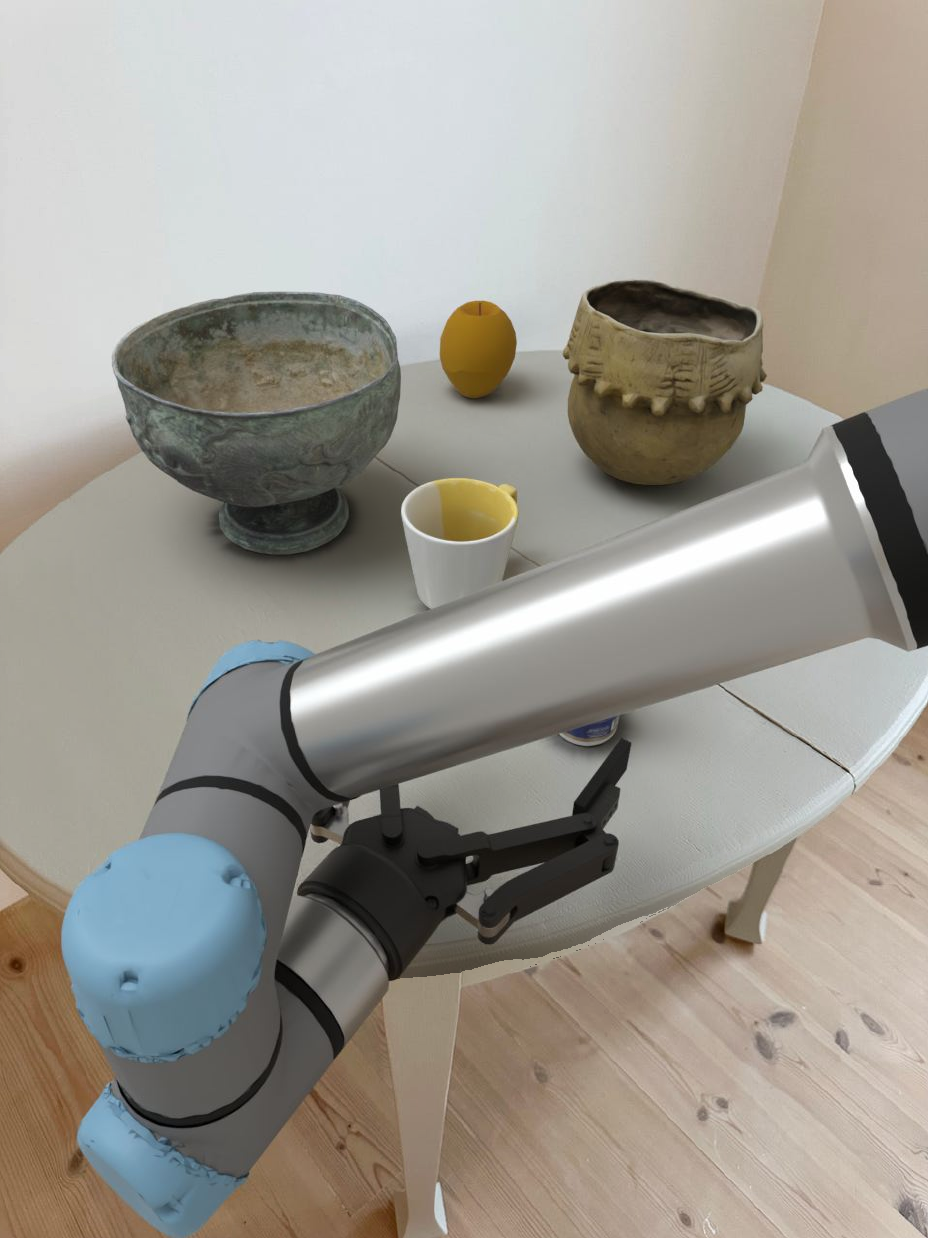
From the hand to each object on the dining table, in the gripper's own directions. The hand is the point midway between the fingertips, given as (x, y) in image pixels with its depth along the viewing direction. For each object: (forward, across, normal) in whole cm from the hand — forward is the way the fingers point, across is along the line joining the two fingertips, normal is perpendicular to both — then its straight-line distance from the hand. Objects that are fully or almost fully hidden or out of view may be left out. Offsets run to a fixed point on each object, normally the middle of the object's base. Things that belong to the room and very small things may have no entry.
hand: (536, 711), depth 67 cm
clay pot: (+48, -13, -9) cm, 51 cm away
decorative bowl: (+17, -40, -9) cm, 45 cm away
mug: (+18, -17, -9) cm, 27 cm away
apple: (+53, -39, -9) cm, 67 cm away
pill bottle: (+9, 0, -9) cm, 13 cm away
